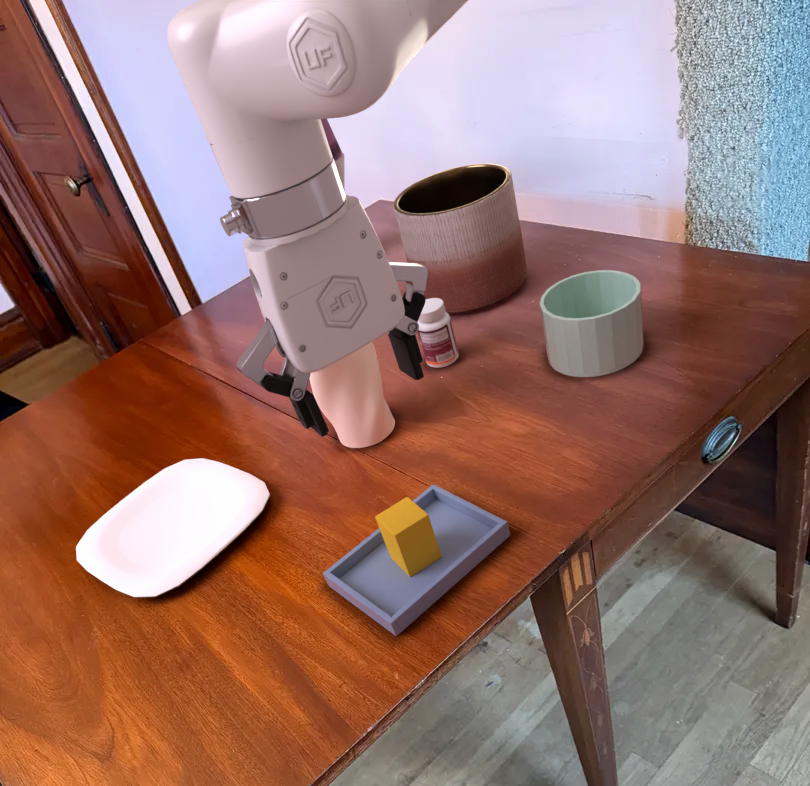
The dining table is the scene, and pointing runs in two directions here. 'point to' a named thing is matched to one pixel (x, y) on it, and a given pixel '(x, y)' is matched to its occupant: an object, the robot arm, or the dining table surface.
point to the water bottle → (354, 398)
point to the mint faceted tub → (593, 323)
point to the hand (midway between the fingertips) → (366, 401)
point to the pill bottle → (437, 334)
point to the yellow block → (408, 536)
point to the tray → (411, 596)
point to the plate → (171, 527)
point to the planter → (464, 235)
